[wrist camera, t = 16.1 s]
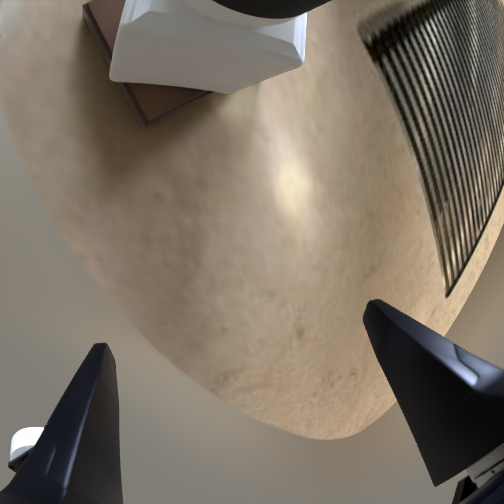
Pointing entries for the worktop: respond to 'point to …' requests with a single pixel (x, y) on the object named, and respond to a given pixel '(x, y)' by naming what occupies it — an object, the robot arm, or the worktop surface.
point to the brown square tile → (136, 94)
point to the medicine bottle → (209, 42)
